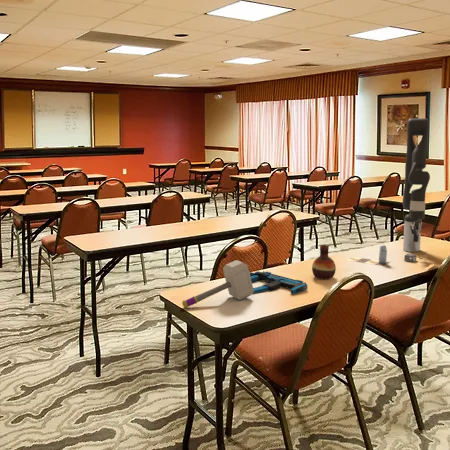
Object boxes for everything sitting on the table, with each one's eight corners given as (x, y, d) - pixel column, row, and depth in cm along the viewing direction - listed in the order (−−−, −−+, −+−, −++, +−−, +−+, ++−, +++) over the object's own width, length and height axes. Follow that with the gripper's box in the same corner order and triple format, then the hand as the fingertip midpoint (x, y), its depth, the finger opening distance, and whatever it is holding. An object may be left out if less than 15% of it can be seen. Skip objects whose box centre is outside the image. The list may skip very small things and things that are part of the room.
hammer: (182, 290, 207) (246, 262, 220) (174, 285, 214) (237, 258, 226) (192, 324, 212) (254, 295, 224) (184, 318, 218) (245, 290, 231)
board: (353, 259, 290) (353, 256, 290) (391, 264, 277) (391, 262, 277) (345, 262, 282) (345, 260, 282) (383, 268, 270) (383, 266, 269)
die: (407, 261, 283) (407, 253, 282) (415, 263, 280) (416, 254, 280) (404, 263, 280) (404, 255, 279) (412, 264, 277) (413, 256, 276)
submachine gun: (220, 278, 247) (259, 266, 263) (220, 286, 247) (259, 273, 263) (274, 294, 221) (313, 280, 237) (274, 303, 222) (313, 288, 238)
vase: (335, 274, 259) (336, 243, 257) (335, 281, 249) (336, 248, 246) (312, 273, 262) (313, 243, 259) (311, 280, 251) (311, 247, 248)
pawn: (380, 262, 277) (381, 244, 276) (387, 263, 275) (388, 244, 273) (377, 263, 274) (378, 245, 273) (384, 264, 272) (385, 246, 271)
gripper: (414, 207, 288) (413, 239, 291) (405, 210, 278) (404, 242, 281) (428, 208, 283) (427, 240, 286) (420, 211, 273) (418, 244, 276)
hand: (415, 241), depth 283 cm, fingers closed
